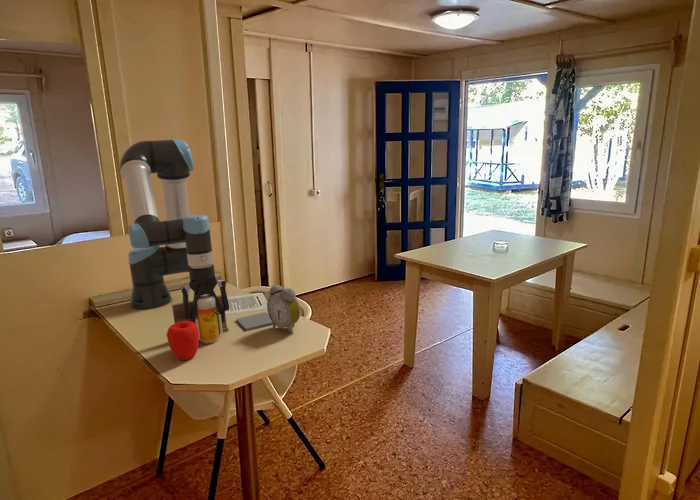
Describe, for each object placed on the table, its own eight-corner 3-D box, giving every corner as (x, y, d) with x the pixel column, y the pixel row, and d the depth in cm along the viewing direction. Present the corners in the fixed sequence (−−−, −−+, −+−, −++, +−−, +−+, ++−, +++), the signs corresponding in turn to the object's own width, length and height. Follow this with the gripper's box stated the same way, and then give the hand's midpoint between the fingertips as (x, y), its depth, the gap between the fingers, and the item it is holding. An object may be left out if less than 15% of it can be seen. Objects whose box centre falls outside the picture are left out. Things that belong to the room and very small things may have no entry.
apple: (177, 350, 139) (173, 317, 137) (205, 350, 139) (201, 317, 136) (165, 364, 130) (160, 329, 128) (195, 364, 130) (190, 328, 128)
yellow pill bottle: (214, 344, 142) (209, 299, 139) (196, 344, 143) (190, 299, 140) (223, 336, 148) (218, 293, 144) (206, 336, 149) (201, 292, 146)
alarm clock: (268, 328, 154) (264, 285, 150) (283, 321, 158) (280, 280, 155) (290, 336, 146) (286, 292, 142) (306, 329, 151) (303, 286, 147)
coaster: (236, 320, 161) (236, 318, 161) (265, 314, 166) (265, 311, 166) (246, 331, 152) (245, 328, 152) (277, 323, 157) (276, 321, 157)
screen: (175, 337, 149) (171, 303, 146) (224, 326, 157) (220, 293, 154) (178, 343, 145) (173, 307, 142) (228, 331, 152) (224, 297, 150)
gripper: (170, 273, 132) (180, 346, 137) (235, 262, 141) (242, 331, 147) (165, 268, 138) (175, 338, 144) (228, 258, 148) (235, 324, 153)
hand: (209, 334), depth 145 cm, fingers open, 6 cm apart
